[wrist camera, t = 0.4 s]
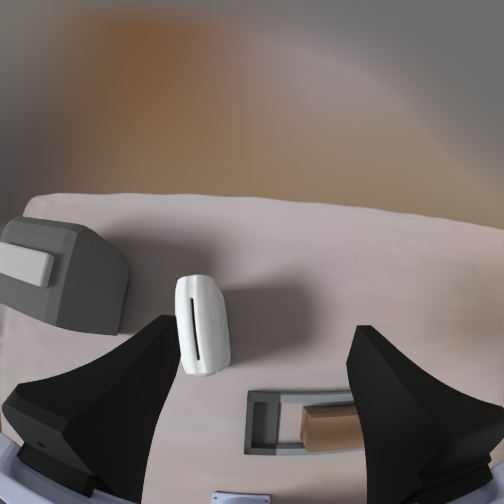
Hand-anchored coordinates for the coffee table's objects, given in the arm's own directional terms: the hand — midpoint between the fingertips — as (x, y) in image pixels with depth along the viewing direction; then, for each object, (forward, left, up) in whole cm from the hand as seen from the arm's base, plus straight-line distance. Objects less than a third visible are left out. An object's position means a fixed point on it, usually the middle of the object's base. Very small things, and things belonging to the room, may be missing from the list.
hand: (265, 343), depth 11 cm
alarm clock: (+5, +26, -26) cm, 37 cm away
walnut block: (-11, -10, -26) cm, 30 cm away
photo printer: (+1, +6, -26) cm, 27 cm away
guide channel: (-11, -7, -26) cm, 29 cm away
